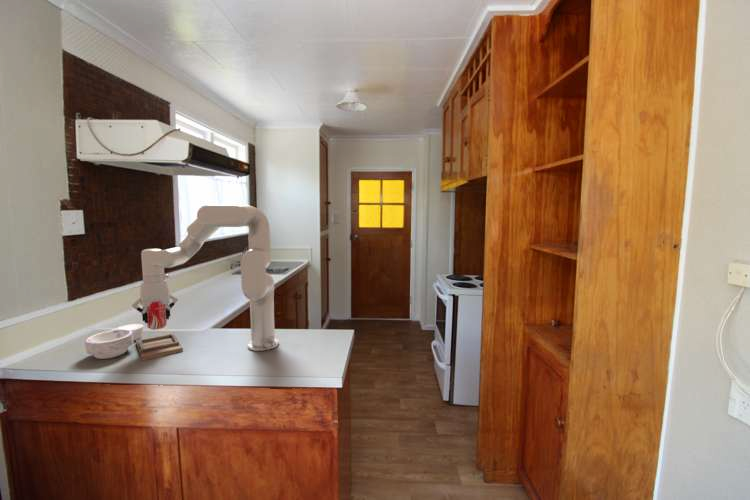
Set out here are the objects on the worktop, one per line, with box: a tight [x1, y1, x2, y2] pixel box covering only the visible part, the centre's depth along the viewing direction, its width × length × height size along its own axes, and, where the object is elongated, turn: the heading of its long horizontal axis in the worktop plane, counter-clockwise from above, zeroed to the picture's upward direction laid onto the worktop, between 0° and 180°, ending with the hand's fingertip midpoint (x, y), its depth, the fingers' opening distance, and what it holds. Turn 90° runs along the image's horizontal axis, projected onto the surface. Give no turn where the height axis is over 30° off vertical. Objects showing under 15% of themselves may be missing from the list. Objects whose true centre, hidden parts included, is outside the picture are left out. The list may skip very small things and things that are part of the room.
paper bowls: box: [84, 329, 134, 360], centre depth 139 cm, size 15×15×8 cm
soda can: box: [146, 300, 168, 330], centre depth 145 cm, size 7×7×12 cm
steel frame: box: [138, 333, 180, 353], centre depth 146 cm, size 13×13×1 cm
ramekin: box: [113, 323, 144, 342], centre depth 156 cm, size 11×11×5 cm
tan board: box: [135, 332, 184, 361], centre depth 147 cm, size 22×14×2 cm, turn 39°
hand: (156, 320), depth 145 cm, fingers closed on soda can, 7 cm apart
